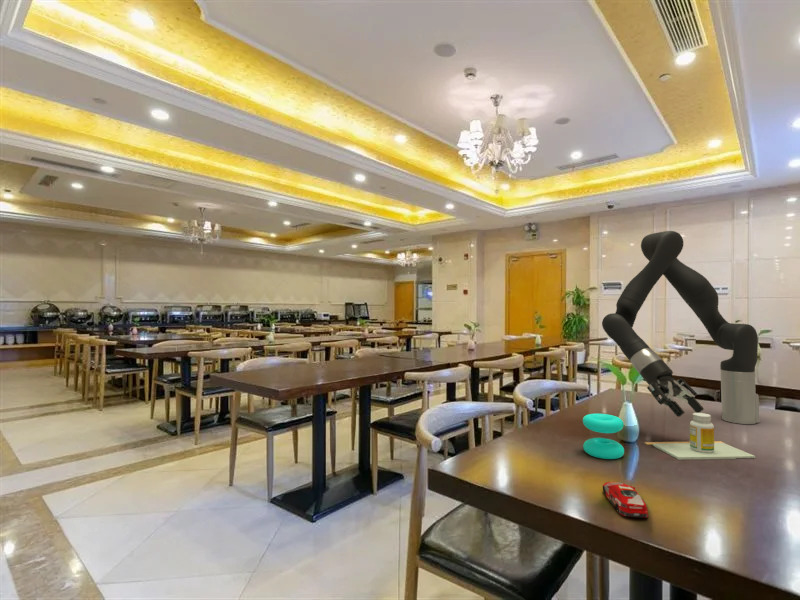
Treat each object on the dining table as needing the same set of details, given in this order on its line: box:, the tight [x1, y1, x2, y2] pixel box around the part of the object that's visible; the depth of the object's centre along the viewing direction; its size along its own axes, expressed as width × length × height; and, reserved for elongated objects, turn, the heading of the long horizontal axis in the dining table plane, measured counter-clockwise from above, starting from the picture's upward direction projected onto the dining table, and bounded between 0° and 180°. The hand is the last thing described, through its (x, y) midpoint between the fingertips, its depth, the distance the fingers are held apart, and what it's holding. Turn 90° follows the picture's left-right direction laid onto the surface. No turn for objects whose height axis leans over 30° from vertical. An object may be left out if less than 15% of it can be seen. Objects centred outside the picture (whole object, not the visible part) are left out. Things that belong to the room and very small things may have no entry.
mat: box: [652, 442, 756, 461], centre depth 114 cm, size 20×11×1 cm, turn 90°
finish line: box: [644, 440, 725, 446], centre depth 121 cm, size 22×2×1 cm, turn 90°
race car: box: [602, 481, 649, 519], centre depth 85 cm, size 13×5×4 cm, turn 170°
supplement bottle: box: [689, 412, 715, 453], centre depth 114 cm, size 5×5×10 cm
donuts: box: [582, 413, 625, 460], centre depth 114 cm, size 10×10×10 cm
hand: (691, 413), depth 117 cm, fingers open, 8 cm apart
